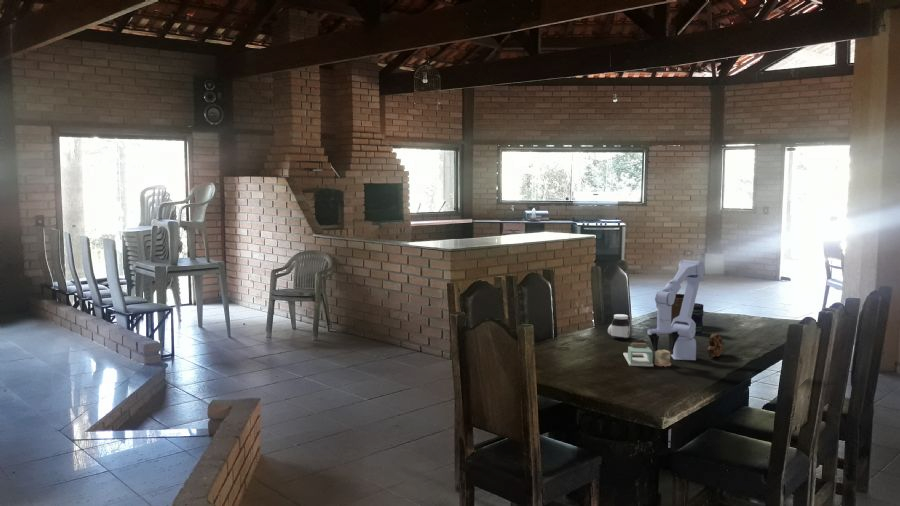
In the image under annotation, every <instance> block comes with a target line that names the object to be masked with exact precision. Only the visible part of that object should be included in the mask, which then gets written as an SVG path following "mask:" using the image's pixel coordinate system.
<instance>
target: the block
mask: <svg viewBox="0 0 900 506" xmlns="http://www.w3.org/2000/svg"><path fill="white" fill-rule="evenodd" d="M654 362H657V363H659V364H670V363H671V352H670V351H669V350H667V349H657V351H654Z"/></svg>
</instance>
